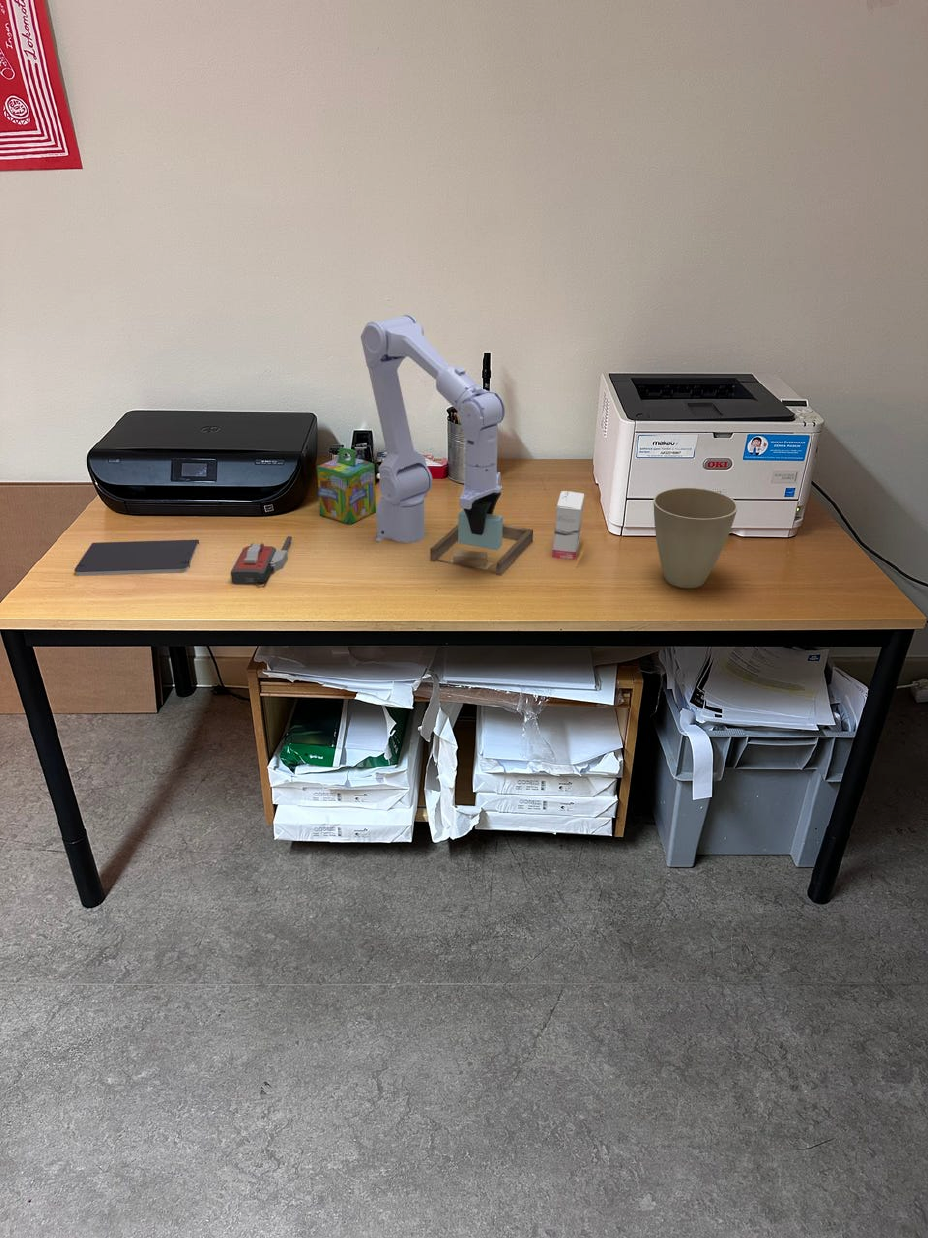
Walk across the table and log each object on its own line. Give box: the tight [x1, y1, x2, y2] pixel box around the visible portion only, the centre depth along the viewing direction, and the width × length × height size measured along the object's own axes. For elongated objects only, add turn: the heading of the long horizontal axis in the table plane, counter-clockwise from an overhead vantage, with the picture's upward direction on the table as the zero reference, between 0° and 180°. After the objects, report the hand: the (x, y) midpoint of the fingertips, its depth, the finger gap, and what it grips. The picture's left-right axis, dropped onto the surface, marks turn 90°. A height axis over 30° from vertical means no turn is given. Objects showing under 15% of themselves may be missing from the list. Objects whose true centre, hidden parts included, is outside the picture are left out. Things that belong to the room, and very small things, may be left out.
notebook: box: [73, 539, 200, 577], centre depth 171 cm, size 13×2×21 cm
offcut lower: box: [448, 557, 494, 570], centre depth 168 cm, size 8×3×2 cm, turn 65°
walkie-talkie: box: [230, 535, 293, 586], centre depth 169 cm, size 9×4×20 cm
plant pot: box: [653, 486, 739, 589], centre depth 160 cm, size 15×15×16 cm
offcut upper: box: [452, 549, 488, 566], centre depth 168 cm, size 6×3×2 cm, turn 82°
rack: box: [429, 523, 534, 577], centre depth 172 cm, size 15×17×4 cm
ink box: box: [551, 490, 585, 560], centre depth 171 cm, size 9×5×12 cm, turn 168°
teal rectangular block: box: [457, 508, 504, 551], centre depth 162 cm, size 8×2×6 cm, turn 66°
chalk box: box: [316, 446, 377, 526], centre depth 186 cm, size 9×9×15 cm
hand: (480, 530), depth 162 cm, fingers closed on teal rectangular block, 2 cm apart
